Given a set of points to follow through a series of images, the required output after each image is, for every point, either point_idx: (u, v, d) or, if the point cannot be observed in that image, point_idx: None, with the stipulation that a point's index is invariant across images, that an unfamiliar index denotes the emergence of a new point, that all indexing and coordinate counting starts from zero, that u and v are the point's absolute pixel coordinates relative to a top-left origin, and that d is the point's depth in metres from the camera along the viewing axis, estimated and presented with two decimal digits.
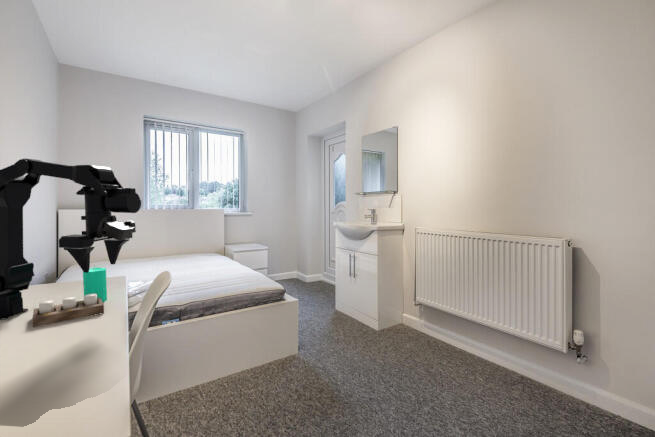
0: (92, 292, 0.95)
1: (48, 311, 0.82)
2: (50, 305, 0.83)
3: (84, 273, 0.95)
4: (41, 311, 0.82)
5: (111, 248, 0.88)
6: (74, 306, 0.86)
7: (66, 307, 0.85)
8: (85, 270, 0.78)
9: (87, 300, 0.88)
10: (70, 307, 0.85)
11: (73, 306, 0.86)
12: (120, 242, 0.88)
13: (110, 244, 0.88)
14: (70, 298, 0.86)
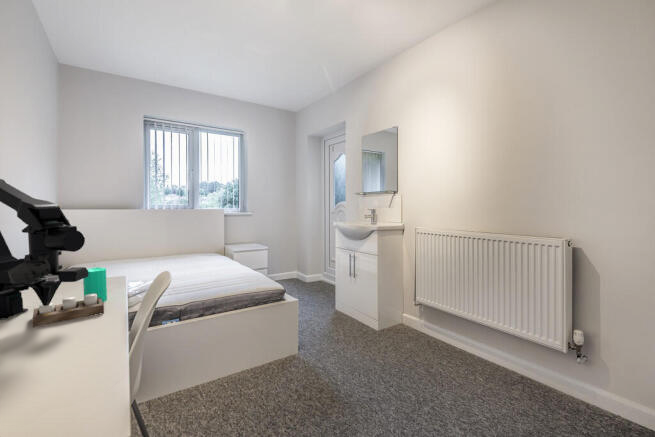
0: (92, 292, 0.95)
1: None
2: (50, 308, 0.83)
3: None
4: (41, 313, 0.82)
5: None
6: (74, 306, 0.86)
7: (66, 307, 0.85)
8: None
9: (87, 300, 0.88)
10: (70, 307, 0.85)
11: (73, 306, 0.86)
12: None
13: None
14: (70, 298, 0.86)
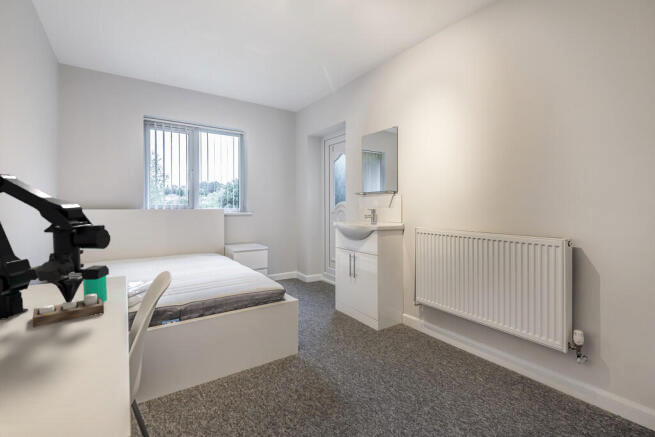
0: (92, 292, 0.95)
1: None
2: (50, 310, 0.83)
3: None
4: None
5: None
6: None
7: None
8: None
9: (87, 300, 0.88)
10: None
11: None
12: None
13: None
14: None
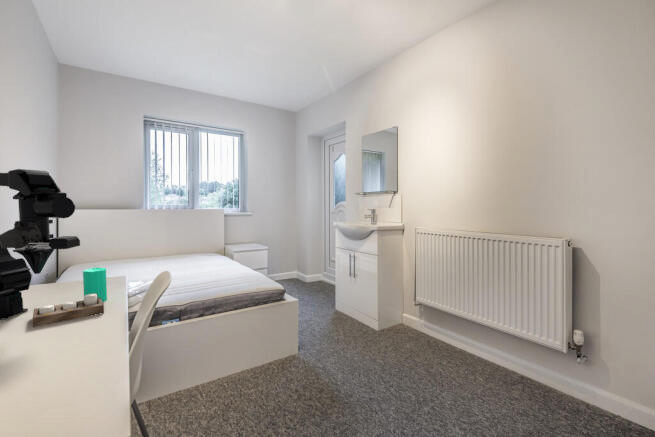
0: (92, 292, 0.95)
1: None
2: (50, 310, 0.83)
3: (84, 273, 0.95)
4: None
5: None
6: None
7: None
8: None
9: (87, 300, 0.88)
10: None
11: None
12: None
13: None
14: (70, 303, 0.86)
